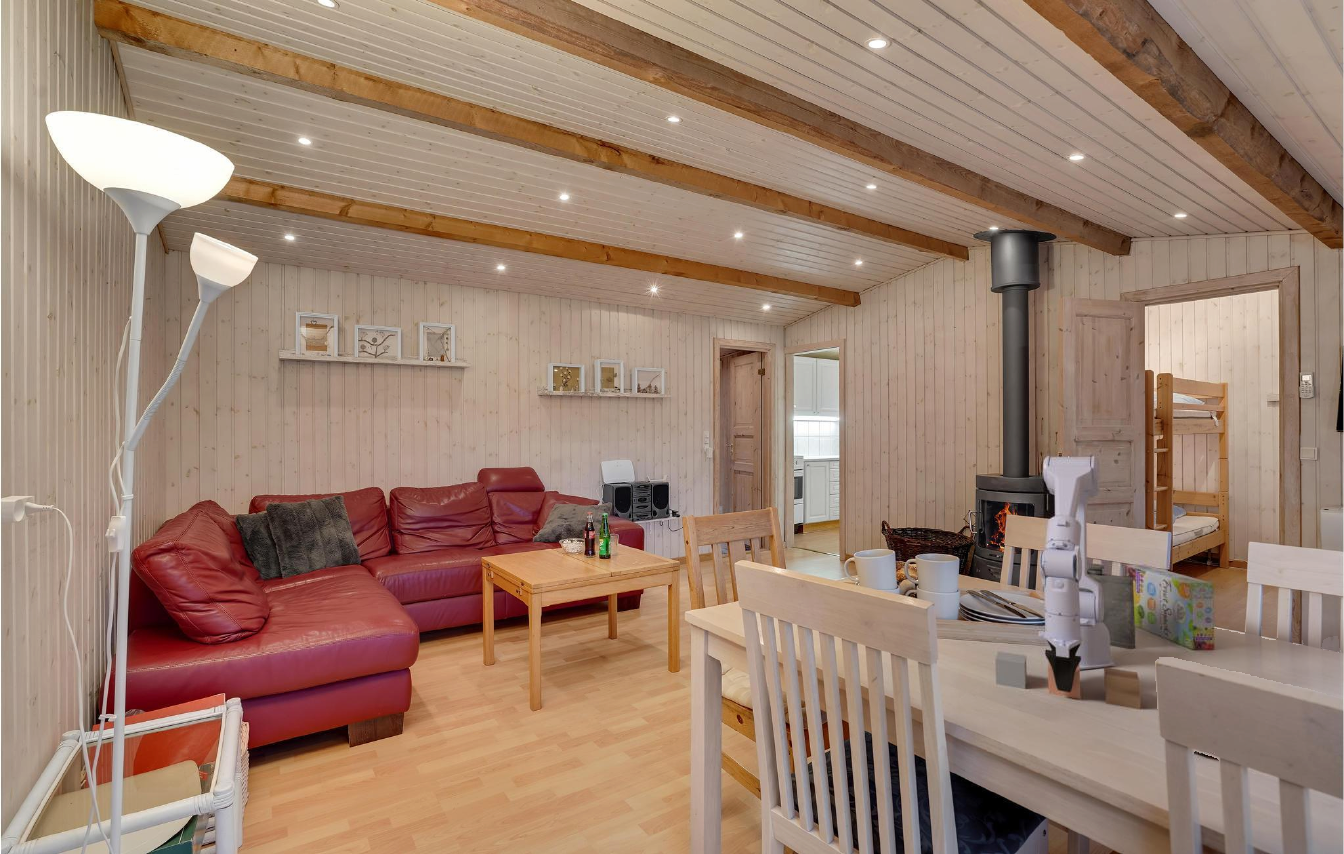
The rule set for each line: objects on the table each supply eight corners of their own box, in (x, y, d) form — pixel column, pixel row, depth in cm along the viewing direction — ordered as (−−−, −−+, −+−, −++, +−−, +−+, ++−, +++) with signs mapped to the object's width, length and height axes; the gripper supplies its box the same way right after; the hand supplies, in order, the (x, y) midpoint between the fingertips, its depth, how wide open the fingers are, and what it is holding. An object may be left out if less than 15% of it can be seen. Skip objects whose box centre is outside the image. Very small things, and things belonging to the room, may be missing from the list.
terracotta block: (1049, 684, 122) (1048, 658, 122) (1080, 689, 119) (1079, 663, 119) (1048, 693, 117) (1048, 667, 118) (1080, 699, 115) (1079, 672, 115)
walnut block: (1105, 693, 117) (1104, 667, 117) (1138, 699, 114) (1137, 672, 114) (1106, 703, 113) (1105, 676, 113) (1140, 709, 110) (1139, 681, 110)
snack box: (1217, 650, 138) (1215, 582, 138) (1192, 650, 138) (1190, 583, 138) (1146, 621, 159) (1144, 563, 159) (1124, 622, 159) (1122, 563, 160)
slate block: (998, 675, 126) (998, 651, 127) (1026, 680, 124) (1026, 655, 124) (996, 684, 122) (995, 658, 122) (1025, 689, 120) (1024, 663, 120)
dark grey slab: (1131, 650, 139) (1128, 570, 139) (1061, 634, 150) (1059, 560, 151) (1137, 647, 141) (1134, 567, 141) (1067, 631, 152) (1065, 558, 153)
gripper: (1039, 600, 127) (1041, 667, 126) (1036, 618, 115) (1038, 692, 114) (1080, 605, 123) (1083, 673, 123) (1081, 624, 111) (1084, 700, 110)
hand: (1064, 683), depth 118 cm, fingers open, 7 cm apart
